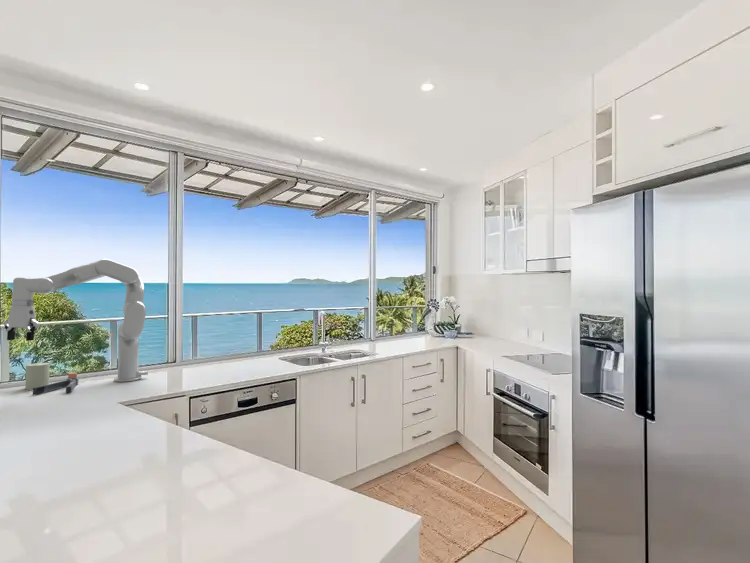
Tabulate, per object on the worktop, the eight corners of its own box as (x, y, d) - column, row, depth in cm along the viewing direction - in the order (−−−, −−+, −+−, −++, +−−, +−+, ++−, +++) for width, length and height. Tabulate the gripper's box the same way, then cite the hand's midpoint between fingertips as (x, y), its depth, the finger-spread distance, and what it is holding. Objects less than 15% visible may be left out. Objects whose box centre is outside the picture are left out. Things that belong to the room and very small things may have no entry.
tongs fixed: (67, 384, 206) (67, 377, 206) (78, 383, 209) (78, 376, 209) (59, 394, 186) (59, 387, 186) (71, 393, 188) (71, 385, 188)
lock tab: (68, 377, 207) (69, 373, 207) (77, 376, 208) (77, 372, 208) (68, 378, 205) (68, 374, 205) (76, 377, 206) (76, 373, 206)
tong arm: (66, 385, 202) (66, 379, 202) (69, 385, 202) (69, 379, 202) (32, 394, 184) (32, 388, 185) (36, 394, 184) (36, 388, 184)
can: (20, 390, 194) (21, 365, 194) (31, 386, 203) (32, 362, 203) (43, 389, 196) (44, 364, 197) (53, 385, 205) (53, 361, 205)
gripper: (46, 304, 194) (44, 339, 194) (13, 303, 196) (11, 338, 195) (31, 304, 187) (29, 341, 186) (-3, 303, 188) (-5, 340, 188)
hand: (20, 340), depth 191 cm, fingers open, 9 cm apart
